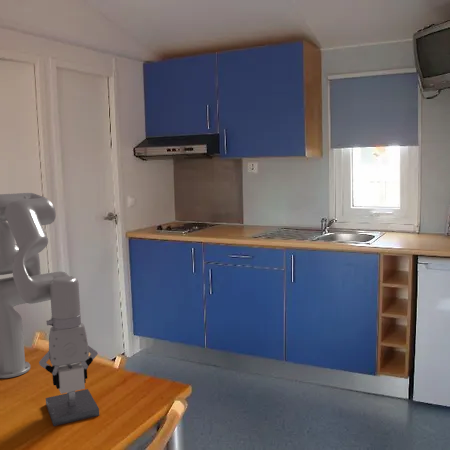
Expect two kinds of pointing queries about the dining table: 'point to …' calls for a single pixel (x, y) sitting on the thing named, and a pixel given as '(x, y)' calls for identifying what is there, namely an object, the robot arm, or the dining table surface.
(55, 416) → the plate
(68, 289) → the robot arm
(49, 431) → the dining table surface
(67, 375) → the knob
